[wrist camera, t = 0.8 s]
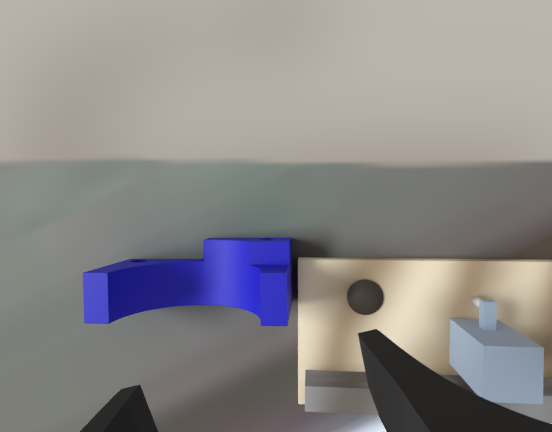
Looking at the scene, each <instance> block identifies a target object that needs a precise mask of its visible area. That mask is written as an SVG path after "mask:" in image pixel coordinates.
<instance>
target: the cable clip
mask: <svg viewBox="0 0 552 432" xmlns="http://www.w3.org/2000/svg"><path fill="white" fill-rule="evenodd" d="M83 289H84V323H88V324H109V323H111V322H113V321H115V320H118V319H120V318H123V317H125V316H128V315H132V314H135V313H139V312H143V311H148V310H153V309H158V308H165V307H173V306H184V305H221V306H230V307H236V308H241V309H245V310H248V311H250V312H253V313H254V314H256V315H257V316H258V317H259V318H260V319H261V326H287V325H288V320H289V315H290V310H291V305H292V242H291V238H208V239H205V240H204V259H129V260H126V261H122V262H119V263H115V264H112V265H108V266H105V267H102V268H98V269H95V270H91V271H88V272H84V273H83Z"/></svg>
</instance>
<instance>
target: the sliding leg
mask: <svg viewBox="0 0 552 432" xmlns="http://www.w3.org/2000/svg"><path fill="white" fill-rule="evenodd" d="M471 302H472V304H474V305H475V306H477V307H479V319H459V318H450V345H449V363H450V365H451V366H452V367H453V368H454V369H455V370H456V371H457V373H458V374H459V375H460V376H461V377H462V378H463V379H464V381H465V382H466V383H467V384H468V385H469V386H470V387H471V388H472V390H473V391H474V392H475V393H476V394H477V395H478V396H480V397H482V398H484V399H487V400H489V401H491V402H500V403H524V404H543V373H544V347H542V346H540V345H539V344H537V343H535V342H534V341H532V340H530V339H529V338H527V337H526V336H524V335H522V334H521V333H519V332H517V331H516V330H514V329H512V328H511V327H509V326H507V325H506V324H504V323H503V322H501V321H499V320H498V319H496V313H497V302H495V301H493V300H491V299H482V298H480V297H478V296H473V297H472V299H471Z"/></svg>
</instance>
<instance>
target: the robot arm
mask: <svg viewBox="0 0 552 432" xmlns="http://www.w3.org/2000/svg"><path fill="white" fill-rule="evenodd" d="M358 337H359V342H360V347H361V352H362V357H363V362H364V367H365V372H366V378H367V383H368V387H369V390H370V392H371V395H372V398H373V401H374V403H375V406H376V409H377V411H378V414H379V417H380V419H381V421H382V423H383V425H384V427H385V429H386V431H387V432H552V424H550V423H547V422H544V421H541V420H538V419H535V418H532V417H529V416H526V415H523V414H521V413H518V412H515V411H513V410H510V409H508V408H505V407H503V406H501V405H498V404H496V403H493V402H491V401H489V400H487V399H484V398H482V397H480V396H478V395H476V394H474V393H472V392H470V391H468V390H466V389H464V388H462V387H460V386H458V385H456V384H454V383H453V382H451V381H449V380H447V379H446V378H444V377H442V376H441V375H439V374H438V373H436V372H434V371H433V370H431V369H430V368H428V367H427V366H425V365H424V364H422V363H421V362H419V361H418V360H417V359H415V358H414V357H412V356H411V355H409V354H408V353H407V352H405V351H404V350H403V349H401V348H400V347H399V346H398V345H396V344H395V343H394V342H393V341H391V340H390V339H389V338H388V337H386V336H385V335H384V334H383V333H382V332H380V331H379V330H377V329H374V330H369V331H365V332H361V333H358ZM80 432H158V430H157V428H156V425H155V423H154V420H153V417H152V415H151V412H150V410H149V407H148V404H147V402H146V399H145V397H144V394H143V391H142V389H141V386H140V385H137V386H133V387H129V388H124V389H121V390H120V391H119V392H118V393H117V394H116V395H115V396H114V397H113V398H112V399H111V400H110V401H109V402H108V403H107V404H106V405H105V406H104V407H103V408H102V409H101V410H100V411H99V412H98V413H97V414H96V415H95V416H94V417H93V418H92V419H91V421H90V422H89V423H88V424H87V425H86V426H85V427H84V428H83V429H82V430H81V431H80Z"/></svg>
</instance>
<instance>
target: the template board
mask: <svg viewBox="0 0 552 432" xmlns="http://www.w3.org/2000/svg"><path fill="white" fill-rule="evenodd" d="M473 296H478V297H480V298H482V299H491V300H493V301H495V302H497V313H496V319H498V320H499V321H501V322H503V323H504V324H506V325H507V326H509V327H511V328H512V329H514V330H516V331H517V332H519V333H521V334H522V335H524V336H526V337H527V338H529V339H530V340H532V341H534V342H535V343H537V344H539V345H540V346H542V347H544V373H543V404H524V403H500V402H493V403H496V404H498V405H501V406H503V407H505V408H508V409H510V410H513V411H515V412H518V413H521V414H523V415H526V416H529V417H532V418H535V419H538V420H541V421H544V422H547V423H552V260H535V259H422V258H308V257H298V404H305V411H306V412H327V413H349V414H371V415H379V414H378V411H377V409H376V406H375V403H374V401H373V398H372V395H371V392H370V390H369V387H368V383H367V378H366V372H365V367H364V362H363V357H362V352H361V347H360V342H359V337H358V333H361V332H365V331H369V330H374V329H377V330H379V331H380V332H382V333H383V334H384V335H385V336H386V337H388V338H389V339H390V340H391V341H393V342H394V343H395V344H396V345H398V346H399V347H400V348H401V349H403V350H404V351H405V352H407V353H408V354H409V355H411V356H412V357H414V358H415V359H417V360H418V361H419V362H421V363H422V364H424V365H425V366H427V367H428V368H430V369H431V370H433V371H434V372H436V373H438V374H439V375H441V376H442V377H444V378H446V379H447V380H449V381H451V382H453V383H454V384H456V385H458V386H460V387H462V388H464V389H466V390H468V391H470V392H472V393H474V394H476V393H475V392H474V391H473V390H472V388H471V387H470V386H469V385H468V384H467V383H466V382H465V381H464V379H463V378H462V377H461V376H460V375H459V374H458V373H457V371H456V370H455V369H454V368H453V367H452V366H451V365H450V363H449V345H450V318H459V319H479V307H477V306H475V305H474V304H472V302H471V299H472V297H473ZM476 395H477V394H476Z"/></svg>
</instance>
